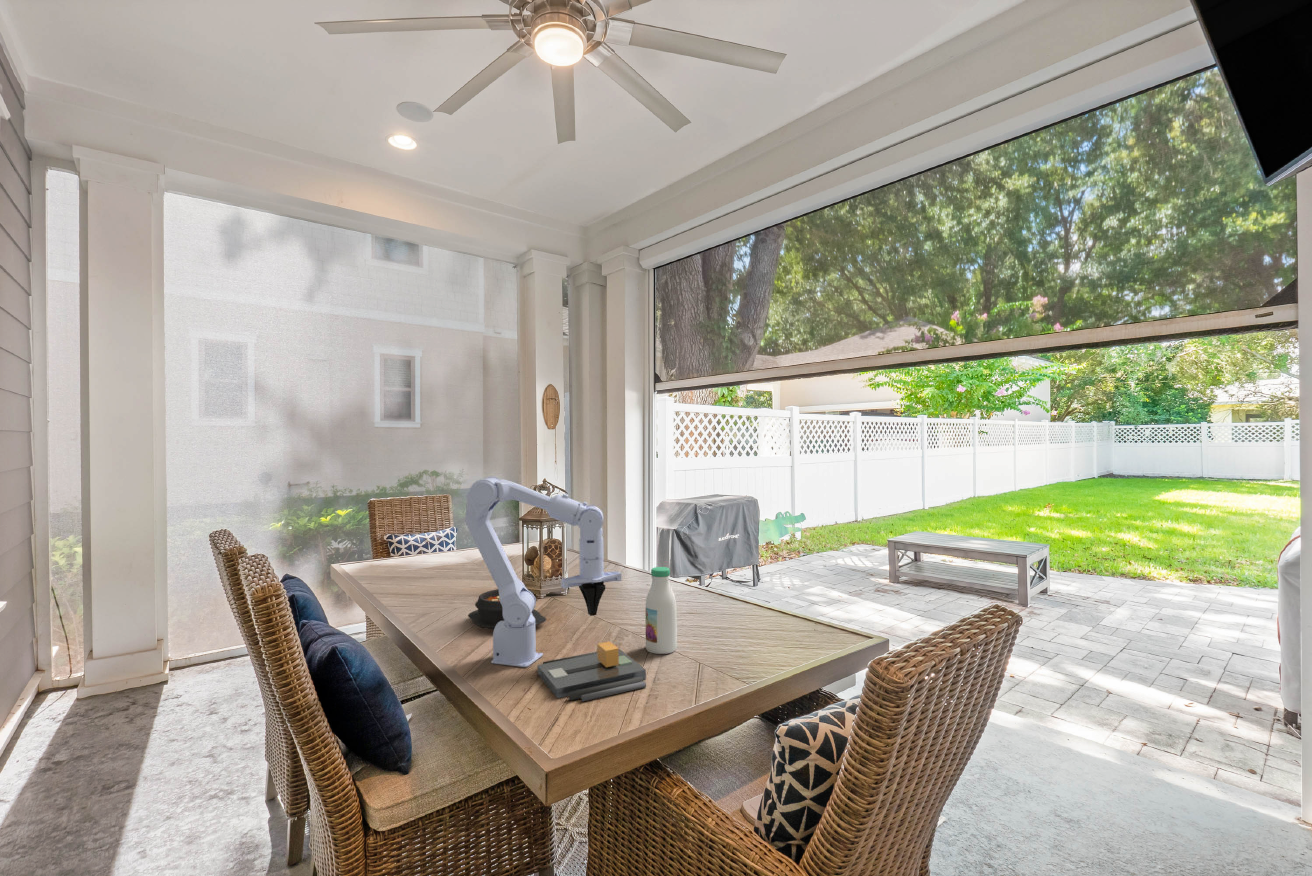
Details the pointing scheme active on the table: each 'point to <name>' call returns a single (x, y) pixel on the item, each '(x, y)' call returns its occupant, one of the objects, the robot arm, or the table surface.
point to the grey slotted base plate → (603, 686)
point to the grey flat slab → (586, 673)
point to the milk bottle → (661, 614)
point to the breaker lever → (608, 654)
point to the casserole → (494, 611)
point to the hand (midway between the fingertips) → (592, 614)
